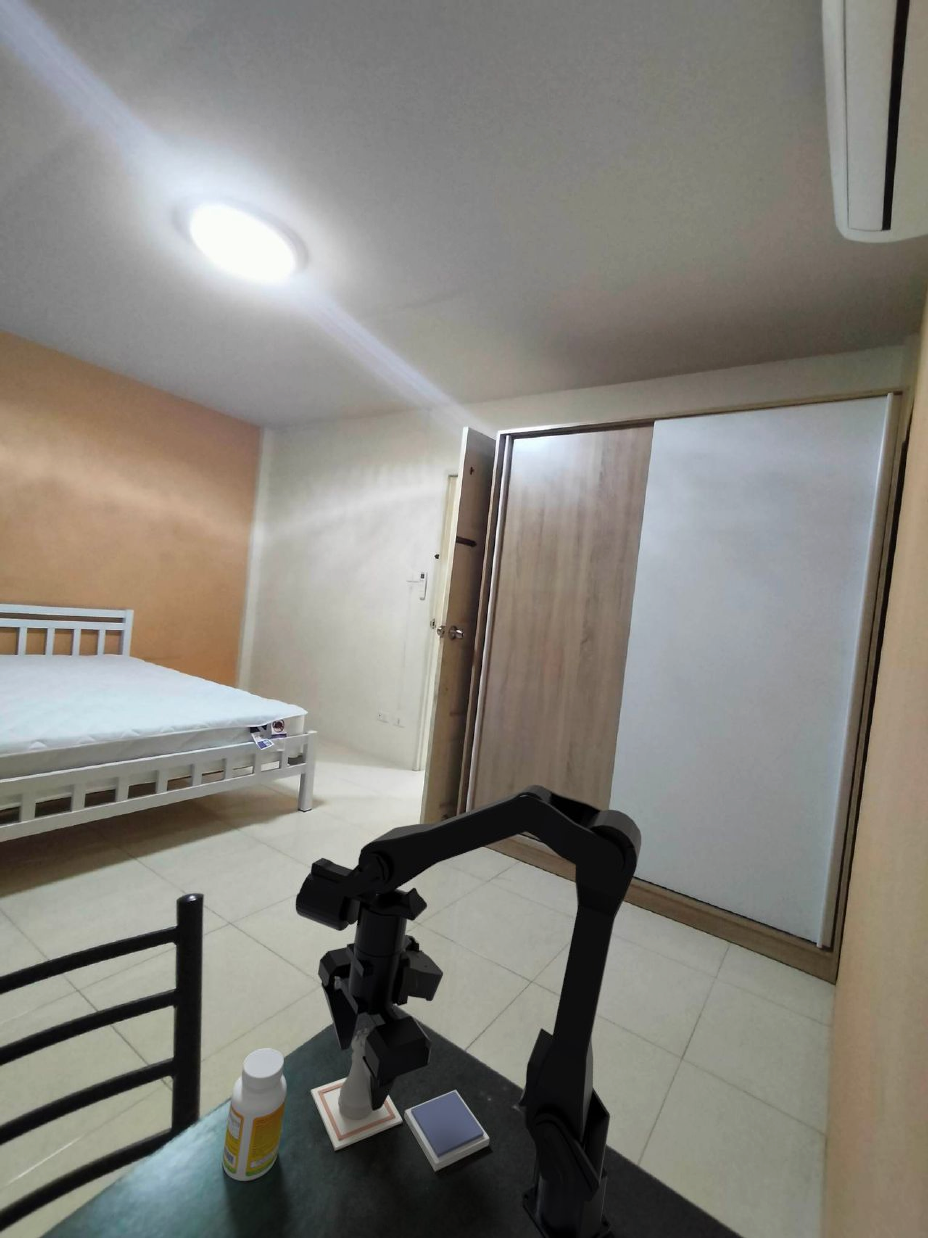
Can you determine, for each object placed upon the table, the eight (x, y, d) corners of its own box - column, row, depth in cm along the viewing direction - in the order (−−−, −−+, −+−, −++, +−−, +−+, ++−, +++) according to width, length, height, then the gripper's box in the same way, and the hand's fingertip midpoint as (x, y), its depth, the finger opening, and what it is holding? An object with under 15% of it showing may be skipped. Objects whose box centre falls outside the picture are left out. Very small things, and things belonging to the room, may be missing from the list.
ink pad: (488, 1145, 62) (490, 1134, 62) (434, 1171, 59) (436, 1160, 59) (454, 1096, 68) (456, 1086, 68) (404, 1117, 64) (405, 1107, 64)
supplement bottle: (285, 1137, 60) (298, 1046, 60) (266, 1188, 55) (280, 1088, 55) (235, 1129, 60) (248, 1038, 60) (211, 1178, 55) (226, 1078, 55)
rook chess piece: (372, 1125, 63) (382, 1053, 63) (332, 1118, 63) (343, 1047, 63) (379, 1092, 67) (388, 1025, 67) (342, 1086, 67) (351, 1019, 67)
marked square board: (402, 1122, 64) (402, 1119, 64) (335, 1151, 59) (335, 1147, 59) (372, 1070, 70) (373, 1067, 70) (310, 1092, 66) (311, 1089, 66)
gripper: (481, 974, 62) (461, 1116, 62) (403, 893, 77) (387, 1007, 77) (390, 1000, 56) (368, 1158, 55) (325, 906, 71) (307, 1029, 71)
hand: (359, 1077), depth 65 cm, fingers open, 9 cm apart
